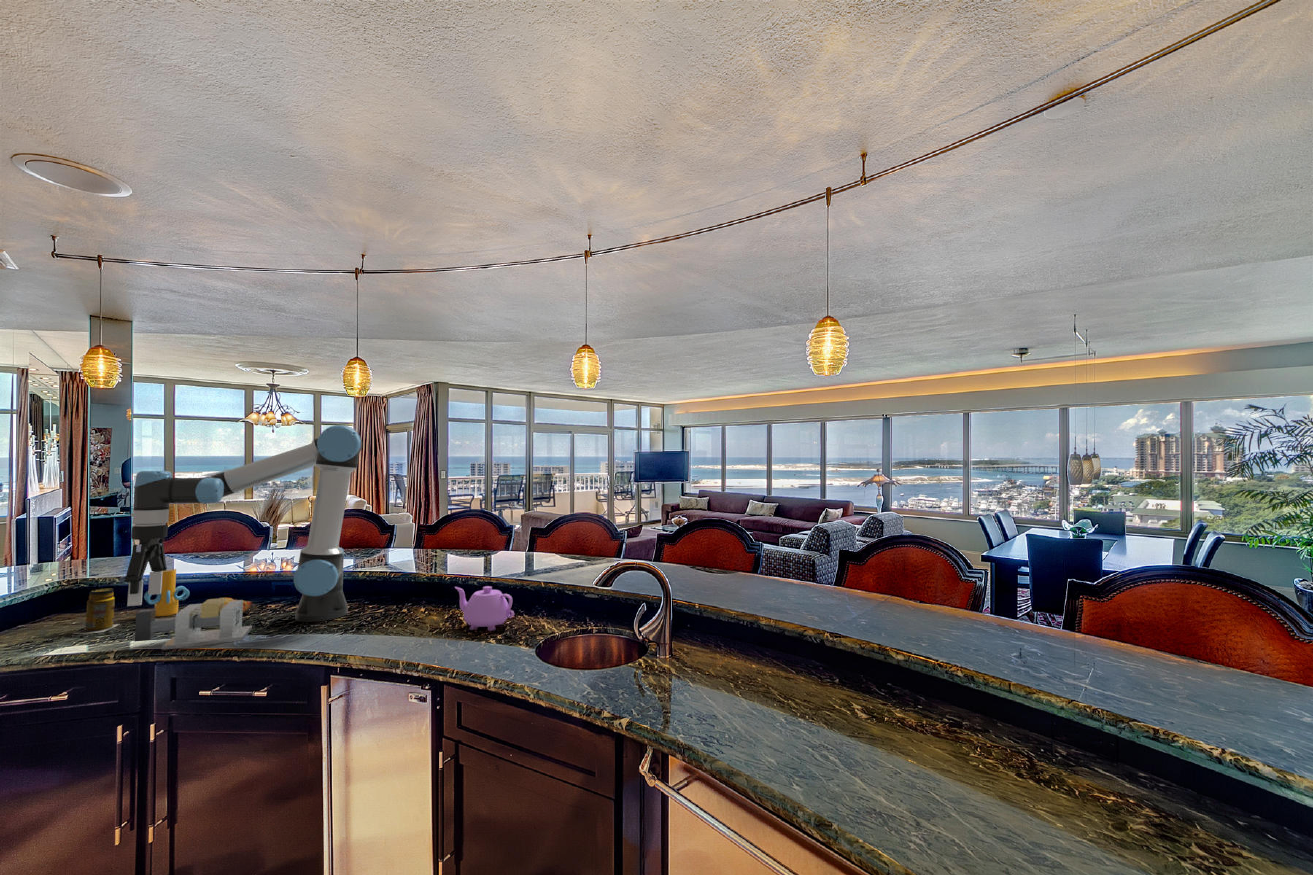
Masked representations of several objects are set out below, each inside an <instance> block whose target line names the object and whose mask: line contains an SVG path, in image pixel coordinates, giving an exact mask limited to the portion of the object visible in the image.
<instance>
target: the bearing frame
mask: <svg viewBox="0 0 1313 875" xmlns="http://www.w3.org/2000/svg"><path fill="white" fill-rule="evenodd" d="M235 600H236V601H230V602H229V603H228V604H227V605H226V606H224V607H223V608H222V609H221V610H220V625H219V628H218V629H209V630H202V627H199V628H193V617H194V616H195V615H201V605H202V604H203V603H195V604H194V603H193V604H188V605H186V607H184V608H183V609H181V610H179V611H178V613H176V614H175V617H176V620H175V630H174V636H173V637H171V639H169V640H168V641H167V642H165V643H164V644H163V645H162V646H161V651H163V650H174V649H181V648H189V647H197V646H198V647H200V646H209V645H215V644H224V643H231V642H242V641H243V640H244V639H245V638H246V637H247V636H248V634H249V633H250V632H251V631H252V629H253V626H252V625H246V626H243V613H242V610H243V601H244V600H243V599H235ZM237 611H239V621H238V622H237V623H236V612H237Z"/></svg>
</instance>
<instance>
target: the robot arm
mask: <svg viewBox="0 0 1313 875" xmlns="http://www.w3.org/2000/svg"><path fill="white" fill-rule="evenodd" d="M362 449H363V439H362V436H361V435H360V434H359V433H358V431H356V430H355V429H354V428H352V427H350V426H348V425H344V424H343V425H342V424H341V425H340V424H335V425H332V426H329V427H326V429H324V430H322V432H321V433H320V434H319V435H318V437H317V438H315V439H312V441H311V443H308V444H307V445H306V444H305V445H303V446H300V447H297V448H293V449H291V450H287V451H285V452H281V453H278V454H276V455H272V456H271V455H270V456H269V457H265V458H263V459H260V460H259V459H258V460H257V461H253V462H250V463H247V464H243V465H241V466H237V467H235V468H231V469H229V470H226V471H222V472H220V473H216V474H213V475H210V476H205V477H173V475H172V472H171V471H169V470H141V471H139V472H137V474H136V476H135V482H134V486H133V489H134V490H133V508H132V513H130V517H132V521H131V522H132V523H131V524H133V525H132V527H131V534H130V539H131V540H137V541H139V542H138V544H133V545H132V553H131V557H130V561H129V563H128V568H127V572H126V575H125V578H124V579H123V580H124V583H128V589H127V590H128V591H127V605H126V607H135V606H141V605H142V604H143V594H144V593H143V591H144V590H143V589H144V580H143V577H144V574H145V572H146V569H147V566H148V565H149V566H150V567H149V568H150V570H151V571H150V572H149V578H148V591H147V592H148V595H151V596H153V595H157V594H161V588H162V574H163V571H166V570H167V569H168V567H167V562H166V556H165V554H166V553H165V549H164V548H165V546H164V540H165V538H166V537H168V528H169V525H168V524H167V523H169V516H170V504H203V505H206V504H207V505H208V504H217V503H219V502H220V501H222V500H223V498H225V497H228V496H230V495H232V494H233V495H234V494H235V493H239V492H242V491H244V490H247V489H250V488H253V487H256V486H259V485H262V484H265V483H268V482H271V481H275V480H277V479H280V478H283V477H286V476H288V475H292V474H295V473H298V472H300V471H305V470H307V469H311V468H313V467H317V468H318V470H319V475H318V481H317V488H316V493H315V499H314V506H313V510H312V516H311V522H310V528H309V534H308V539H307V540H308V541H307V545H306V546H305V547H303V548H302V549H300V552H299V557H298V558H299V559H298V564H297V568H296V570H295V572H294V573H293V574H294V575H293V583H294V587H295V589H296V590H297V591H298V592H299V593H300V594H302V596H301V598H300V600H299V603H298V605H297V608H296V610H295V621H297V622H302V623H315V622H324V621H330V620H331V621H332V620H334V619H339V618H342V617H344V616H346V615H347V614H348V613H349V606H348V605H349V604H348V602H347V600H346V597H345V594H344V591H343V589H344V588H343V587H344V586H343V584H344V558H345V553H344V551H345V550H344V547H343V548H342V547H340V539H341V533H342V527H343V523H344V522H343V521H344V515H345V509H346V504H347V496H348V490H349V485H350V480H351V474H352V473H353V472H354V471H356V470H357V469H358V463H359V458H360V453H361V451H362ZM148 595H147V596H148Z"/></svg>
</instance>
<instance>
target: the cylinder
mask: <svg viewBox="0 0 1313 875" xmlns="http://www.w3.org/2000/svg"><path fill="white" fill-rule="evenodd" d="M176 581H177V569H176V568H170V569H169V568H167V570H166V571H163V574H162V588H161V594H156V597H155V599H151V598H152V595H148V591H146V592H145V593H144V595H143V598H144V600H145V601H146V603H147V604H148V605H151V606H152V605H154V609H156V613H155V617H168V616H173V615H176V614H177V613H178V612H179V601H185V600H186V599H188V598H189V596H190V590H189V589H188V588H186V587H185V586H183V585H180V586H177V587H176ZM180 591H183V592H182V594H181V595H179V596H178V593H179V592H180Z"/></svg>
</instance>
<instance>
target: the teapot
mask: <svg viewBox="0 0 1313 875" xmlns="http://www.w3.org/2000/svg"><path fill="white" fill-rule="evenodd" d="M454 588H455V590H457V592H458V594H459V608H460V610H461V611H462V613H463V620H464V621H465V622H466V624H468V626H470V627H469V630H470V631H474V630H478V628H479V627H480V628H481V627H482V628H483V627H484V628H485V627H487V631H489V632H490V631H491V632H493V631H496V629H497V628H496V626H500V625H504V623H505V622H506V620H507V619H508V618H509V619H511V618H513V617H514V616H515V612H514V610H512V609H511V608H512V605H513V597H512V595H510V594H508V593H502V591H501V590H499V589H493V586H491V585H490V586H489V585H487V586H486V585H485V586H483V587H482V589H481V590H477V591H475V592H474V593H473V594H472V595H471V596H470V598H469V600H468V601H467V598H466V594H465V591H464V589H463V588H461V587H459V586H454ZM506 598H507V599H508V601H507V599H506Z"/></svg>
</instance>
